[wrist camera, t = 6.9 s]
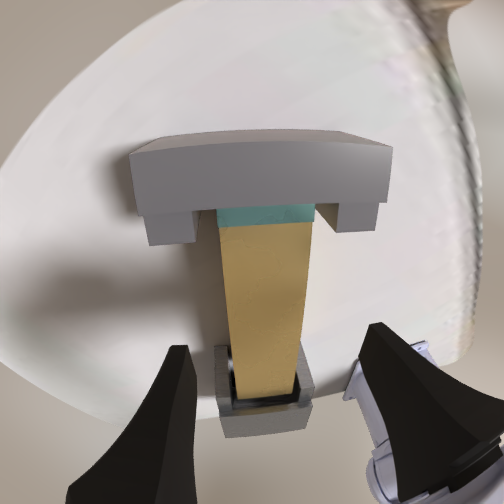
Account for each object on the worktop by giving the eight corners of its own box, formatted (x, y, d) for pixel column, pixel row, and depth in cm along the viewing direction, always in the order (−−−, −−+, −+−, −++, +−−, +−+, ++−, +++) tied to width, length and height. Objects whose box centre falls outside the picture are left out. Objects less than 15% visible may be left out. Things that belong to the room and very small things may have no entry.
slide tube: (290, 166, 15) (315, 188, 11) (282, 350, 22) (292, 393, 18) (216, 169, 15) (214, 193, 11) (233, 354, 22) (237, 399, 18)
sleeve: (299, 338, 22) (316, 393, 17) (292, 383, 25) (304, 430, 21) (214, 346, 21) (215, 405, 17) (223, 390, 25) (226, 439, 20)
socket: (339, 131, 14) (393, 147, 9) (335, 195, 16) (380, 236, 11) (160, 137, 13) (128, 154, 9) (168, 205, 15) (146, 253, 11)
